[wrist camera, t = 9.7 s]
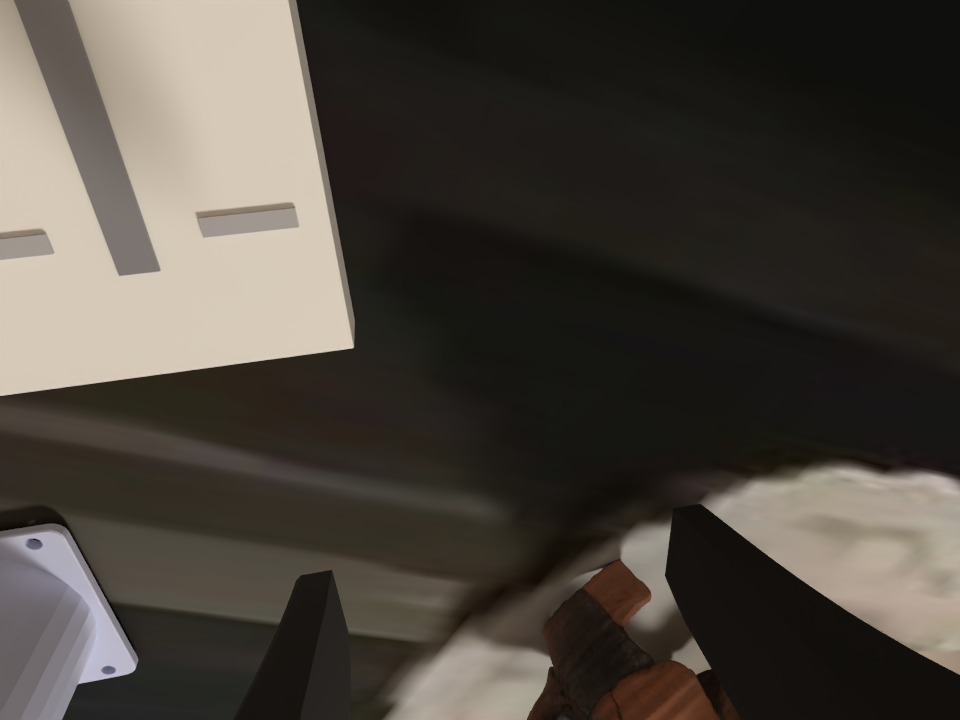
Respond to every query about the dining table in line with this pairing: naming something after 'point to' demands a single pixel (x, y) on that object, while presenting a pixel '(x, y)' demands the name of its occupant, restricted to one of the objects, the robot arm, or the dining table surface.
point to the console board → (161, 192)
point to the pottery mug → (618, 663)
